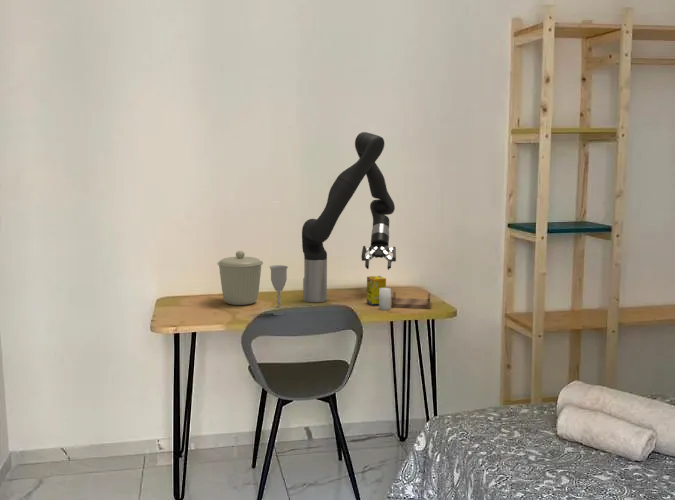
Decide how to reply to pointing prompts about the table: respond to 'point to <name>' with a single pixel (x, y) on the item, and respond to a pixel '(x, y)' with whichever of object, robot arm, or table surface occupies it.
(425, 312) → the table surface
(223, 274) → the canister
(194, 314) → the table surface
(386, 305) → the white rounded capsule
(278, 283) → the chalice
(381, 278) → the supplement box
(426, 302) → the wooden tray
